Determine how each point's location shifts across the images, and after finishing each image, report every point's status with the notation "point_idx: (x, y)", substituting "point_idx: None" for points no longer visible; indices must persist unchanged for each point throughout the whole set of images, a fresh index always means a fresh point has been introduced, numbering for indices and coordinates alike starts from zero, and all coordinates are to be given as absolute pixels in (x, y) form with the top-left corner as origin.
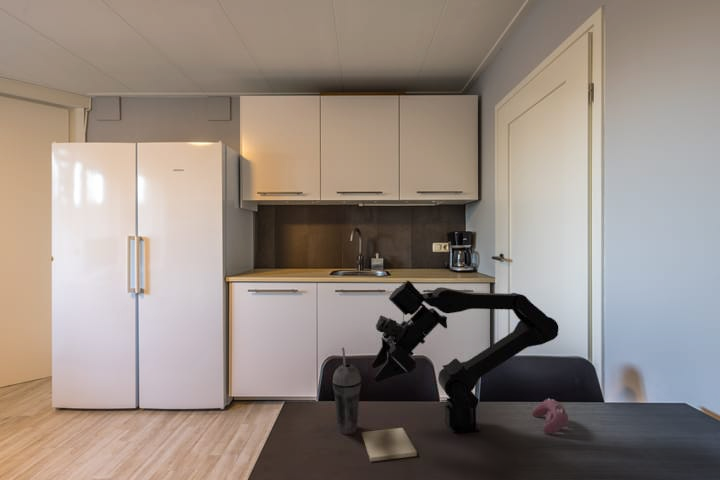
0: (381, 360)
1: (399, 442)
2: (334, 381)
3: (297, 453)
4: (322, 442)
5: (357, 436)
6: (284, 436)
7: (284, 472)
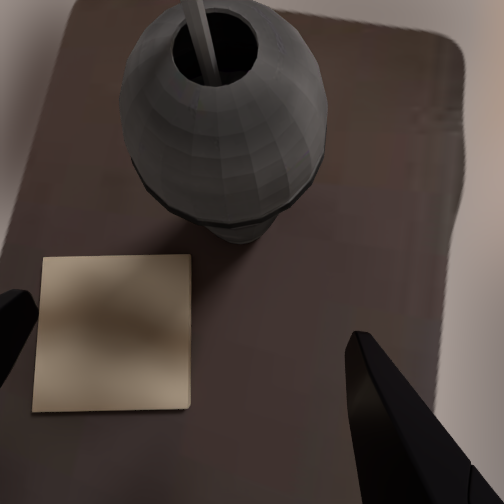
0: (373, 462)
1: (98, 368)
2: (190, 37)
3: None
4: None
5: (190, 240)
6: None
7: (65, 39)
